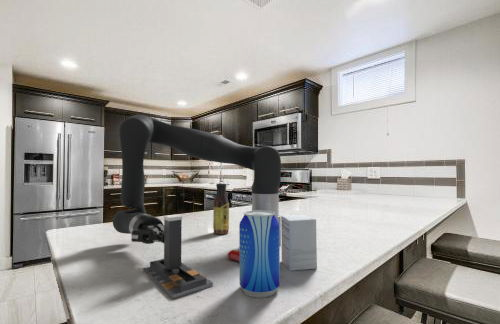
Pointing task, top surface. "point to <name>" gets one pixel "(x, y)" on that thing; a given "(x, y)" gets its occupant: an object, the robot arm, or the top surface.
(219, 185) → the sauce bottle
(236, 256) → the candy bar
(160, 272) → the fader track
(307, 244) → the supplement box
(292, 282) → the top surface
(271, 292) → the beer can
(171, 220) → the fader knob
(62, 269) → the top surface
